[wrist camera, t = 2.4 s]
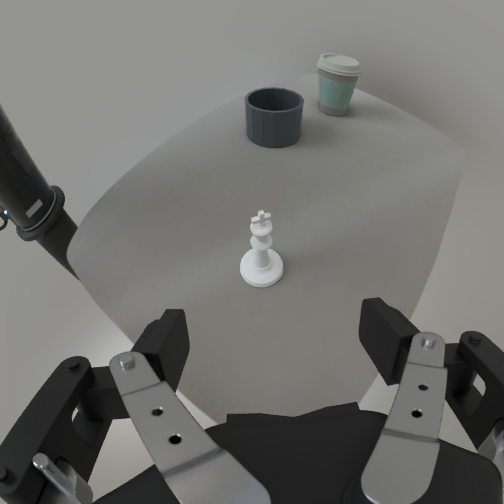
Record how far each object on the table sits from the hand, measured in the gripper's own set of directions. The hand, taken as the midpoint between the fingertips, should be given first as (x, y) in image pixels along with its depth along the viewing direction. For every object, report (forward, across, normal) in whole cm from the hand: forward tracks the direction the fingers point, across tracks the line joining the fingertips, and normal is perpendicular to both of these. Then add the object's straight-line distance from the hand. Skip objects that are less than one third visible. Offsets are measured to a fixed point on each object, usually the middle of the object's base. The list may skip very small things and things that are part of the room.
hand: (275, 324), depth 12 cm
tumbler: (+38, -4, -15) cm, 41 cm away
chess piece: (+20, 0, +4) cm, 20 cm away
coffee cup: (+45, -17, -22) cm, 53 cm away
